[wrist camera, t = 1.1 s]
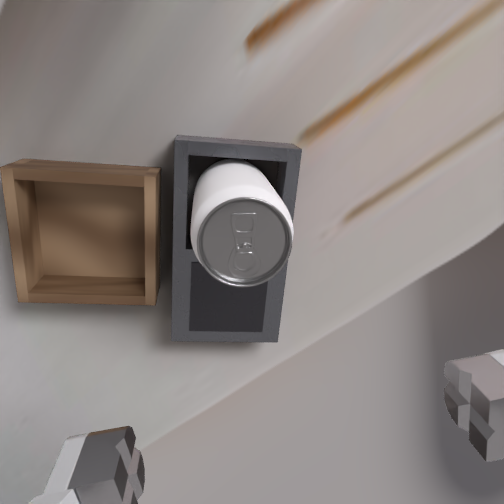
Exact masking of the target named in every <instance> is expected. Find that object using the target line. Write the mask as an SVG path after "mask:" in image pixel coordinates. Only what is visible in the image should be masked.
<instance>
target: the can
mask: <svg viewBox="0 0 504 504" xmlns="http://www.w3.org/2000/svg"><path fill="white" fill-rule="evenodd" d="M292 241H293V224H292V219H291V216H290V213H289V211H288V209H287V207H286V206H285V204H284V202H283V201H282V199H281V198H280V197H279V195H278V194H277V192H276V191H275V190H274V188H273V187H272V185H271V184H270V183H269V181H268V180H267V178H266V177H265V176H264V175H263V173H262V172H261V171H260V170H259V169H258V168H257V167H255V166H254V165H252V164H251V163H249V162H247V161H244V160H240V159H225V160H221V161H218V162H216V163H214V164H212V165H211V166H209V167H208V168H207V169H206V170H205V171H204V172H203V173H202V175H201V176H200V178H199V179H198V182H197V184H196V187H195V192H194V199H193V208H192V218H191V243H192V247H193V250H194V253H195V255H196V257H197V259H198V260H199V262H200V263H201V264H202V266H203V267H204V268H205V269H206V271H207V272H208V273H209V274H210V275H211V276H212V277H214V278H215V279H216V280H218V281H220V282H222V283H224V284H226V285H230V286H234V287H252V286H256V285H259V284H262V283H264V282H266V281H268V280H270V279H271V278H273V277H274V276H275V275H277V274H278V273H279V272H280V271H281V269H282V268H283V267H284V265H285V264H286V262H287V260H288V258H289V256H290V252H291V248H292Z"/></svg>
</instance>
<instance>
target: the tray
mask: <svg viewBox="0 0 504 504" xmlns="http://www.w3.org/2000/svg"><path fill="white" fill-rule="evenodd" d="M301 152H302V149H300V148H299V147H297V146H295V145H294V144H288V143H275V142H262V141H249V140H236V139H223V138H210V137H197V136H184V135H177V137H176V138H175V147H174V207H173V266H172V326H171V341H204V342H278V335H279V327H280V319H281V311H282V303H283V295H284V287H285V279H286V271H287V263H288V260H287V262H286V264H285V265H284V267H283V268H282V269H281V271H280V272H279V273H278V274H277V275H275V276H274V277H273V278H271V279H270V280H268V281H266V282H264V283H262V284H259V285H256V286H252V287H234V286H230V285H226V284H224V283H222V282H220V281H218V280H216V279H215V278H214V277H212V276H211V275H210V274H209V273H208V272H207V271H206V269H205V268H204V267H203V266H202V264H201V263H200V262H199V260H198V259H197V257H196V255H195V253H194V250H193V247H192V243H191V235H187V228H188V195H189V162H190V155H198V156H212V157H226V158H240V159H254V160H268V161H279V164H278V173H277V182H276V192H277V194H278V195H279V197H280V198H281V199H282V201H283V202H284V204H285V206H286V207H287V209H288V211H289V213H290V216H291V219H292V224H293V216H294V208H295V200H296V192H297V184H298V176H299V168H300V160H301Z"/></svg>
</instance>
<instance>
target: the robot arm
mask: <svg viewBox="0 0 504 504" xmlns="http://www.w3.org/2000/svg"><path fill="white" fill-rule="evenodd" d="M444 375H445V376H446V377H447V379H448V380H449V383H448V384H447V386H446V387H445V388H444V400H445V404H446V407H447V410H448V412H449V414H450V416H451V418H452V419H453V421H454V422H455V423H456V425H457V426H458V427H460V428H462V429H464V430H466V431H468V432H469V441H470V443H471V444H472V445H473V446H474V448H475V449H476V450H477V451H478V452H479V454H480V455H481V456H482V457H483V459H484V460H485V461H486V462H490V461H495V460H501V459H504V349H502V350H497V351H493V352H488V353H485V354H481V355H476V356H472V357H467V358H462V359H457V360H453V361H448V362H446V365H445V369H444ZM135 440H136V437H135V434H134V431H133V429H132V427H130V426H125V427H120V428H114V429H108V430H103V431H97V432H91V433H89V434H82V435H77V436H71V437H69V438H68V439H67V440H66V441H65V442H64V444H63V447H62V449H61V451H60V454H59V456H58V458H57V461H56V463H55V466H54V468H53V470H52V473H51V475H50V477H49V480H48V482H47V484H46V487H45V489H44V492H43V494H42V495H40V496H36V497H35V498H33V499H32V500H31V501H30V502H29V503H28V504H138V502H137V500H138V498H139V497H140V496H141V495H142V493H143V490H144V482H145V476H144V475H145V469H144V463H143V458H142V455H141V452H140V451H139V450H138V449H136V448H135V447H134V445H135Z"/></svg>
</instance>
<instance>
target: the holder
mask: <svg viewBox="0 0 504 504" xmlns="http://www.w3.org/2000/svg"><path fill="white" fill-rule="evenodd" d="M0 171H1V179H2V186H3V194H4V201H5V208H6V216H7V223H8V231H9V238H10V245H11V253H12V260H13V268H14V275H15V283H16V290H17V297H18V302H30V303H74V304H118V305H156V301H157V296H158V292H159V288H160V238H161V168H156V167H141V166H126V165H111V164H96V163H81V162H65V161H50V160H35V159H21V160H18V161H15V162H13V163H10V164H7V165H5V166H2V167H0Z"/></svg>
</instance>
